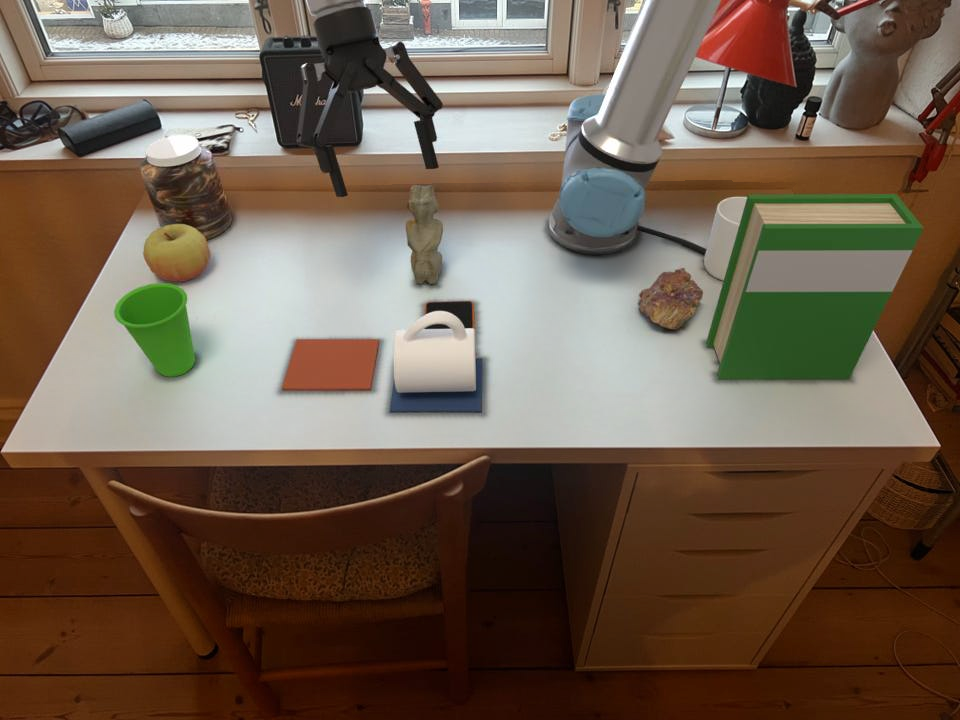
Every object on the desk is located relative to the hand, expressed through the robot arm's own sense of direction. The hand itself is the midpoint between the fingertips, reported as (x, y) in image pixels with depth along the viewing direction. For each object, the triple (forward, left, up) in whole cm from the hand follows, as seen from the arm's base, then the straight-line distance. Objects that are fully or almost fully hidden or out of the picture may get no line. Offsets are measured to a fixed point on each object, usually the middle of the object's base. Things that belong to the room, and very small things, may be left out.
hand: (388, 182), depth 95 cm
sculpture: (-4, -6, -20) cm, 22 cm away
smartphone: (-8, +9, -21) cm, 24 cm away
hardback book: (-54, +14, -20) cm, 59 cm away
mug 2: (-53, -6, -20) cm, 57 cm away
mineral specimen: (-41, +3, -20) cm, 46 cm away
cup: (+30, +15, -20) cm, 39 cm away
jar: (+38, -21, -20) cm, 48 cm away
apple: (+36, -7, -20) cm, 42 cm away
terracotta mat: (+8, +15, -20) cm, 26 cm away
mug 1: (-7, +19, -20) cm, 28 cm away
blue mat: (-7, +19, -20) cm, 28 cm away
